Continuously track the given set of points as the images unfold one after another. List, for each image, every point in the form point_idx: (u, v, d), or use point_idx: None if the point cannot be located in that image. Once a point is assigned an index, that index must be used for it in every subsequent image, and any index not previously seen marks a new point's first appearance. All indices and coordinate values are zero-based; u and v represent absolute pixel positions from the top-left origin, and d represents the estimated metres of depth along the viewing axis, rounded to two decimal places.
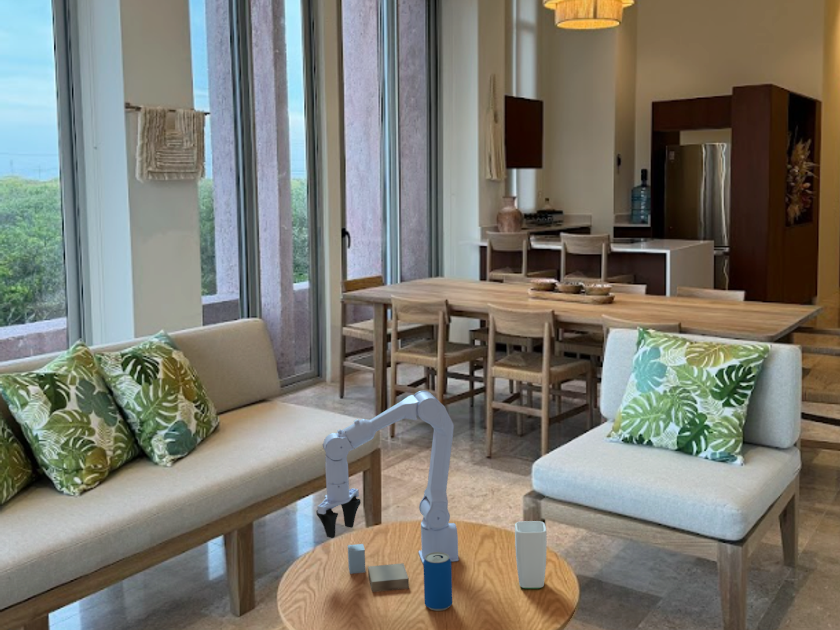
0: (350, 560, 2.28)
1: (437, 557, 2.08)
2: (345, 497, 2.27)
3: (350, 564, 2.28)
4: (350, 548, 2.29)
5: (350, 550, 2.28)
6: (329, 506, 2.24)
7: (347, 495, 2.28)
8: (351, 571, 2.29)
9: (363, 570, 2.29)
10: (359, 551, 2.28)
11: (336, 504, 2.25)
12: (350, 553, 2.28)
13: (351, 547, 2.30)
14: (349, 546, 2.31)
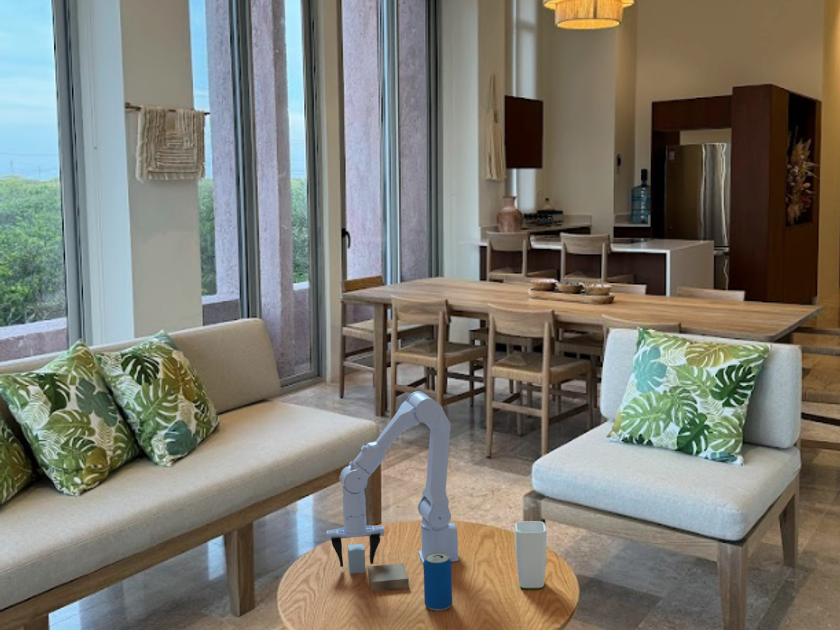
0: (350, 560, 2.28)
1: (437, 557, 2.08)
2: (353, 531, 2.26)
3: (350, 564, 2.28)
4: (350, 548, 2.29)
5: (350, 550, 2.28)
6: (334, 535, 2.27)
7: (357, 530, 2.26)
8: (351, 571, 2.29)
9: (363, 570, 2.29)
10: (359, 551, 2.28)
11: (342, 535, 2.27)
12: (350, 553, 2.28)
13: (351, 547, 2.30)
14: (349, 546, 2.31)
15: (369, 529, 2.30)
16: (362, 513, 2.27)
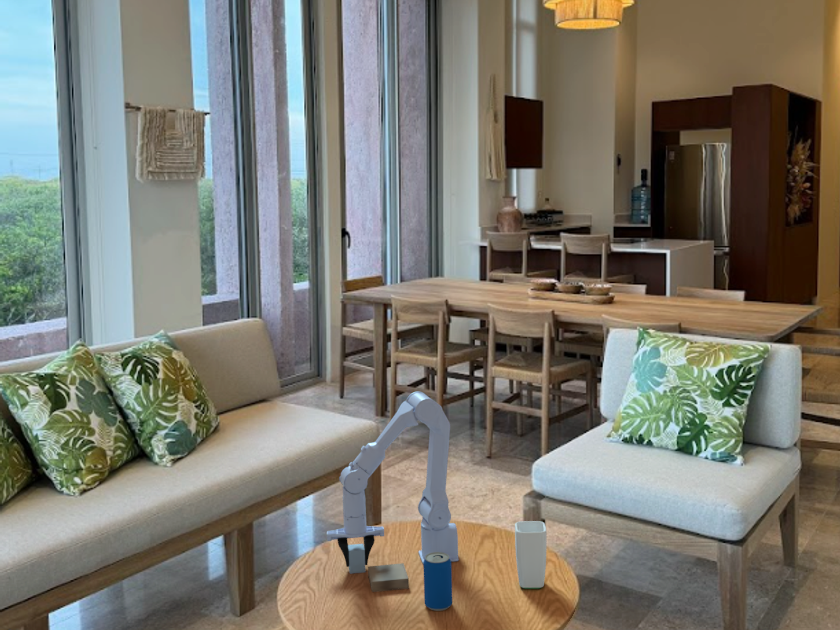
0: (350, 560, 2.28)
1: (437, 557, 2.08)
2: (353, 532, 2.26)
3: (350, 564, 2.28)
4: (350, 548, 2.29)
5: (350, 550, 2.28)
6: (335, 535, 2.27)
7: (357, 530, 2.26)
8: (351, 571, 2.29)
9: (363, 570, 2.29)
10: (359, 551, 2.28)
11: (342, 535, 2.27)
12: (350, 553, 2.28)
13: (351, 547, 2.30)
14: (349, 546, 2.31)
15: (369, 529, 2.30)
16: (362, 514, 2.27)
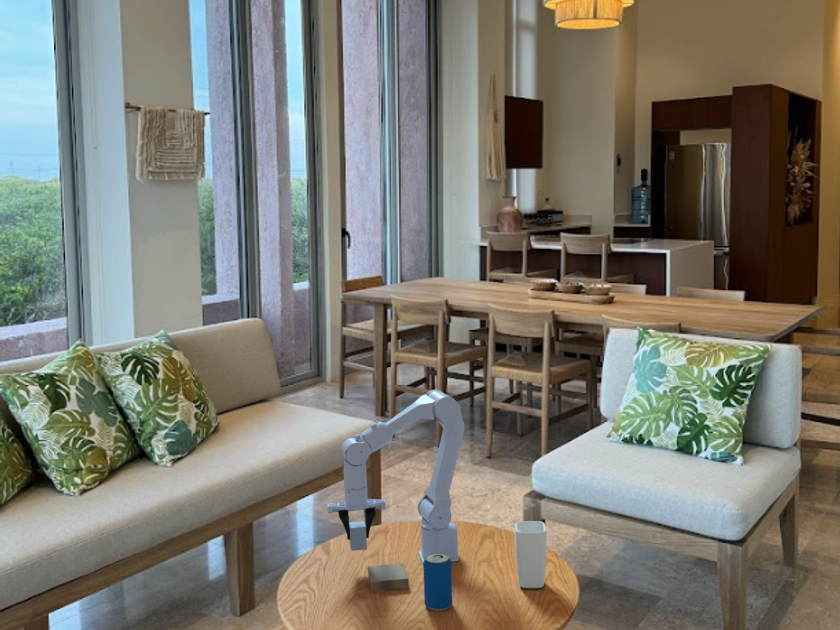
0: (351, 537, 2.27)
1: (437, 557, 2.08)
2: (354, 504, 2.25)
3: (351, 541, 2.27)
4: (351, 525, 2.28)
5: (351, 527, 2.27)
6: (335, 508, 2.26)
7: (358, 503, 2.25)
8: (352, 548, 2.27)
9: (364, 547, 2.28)
10: (360, 528, 2.27)
11: (343, 508, 2.25)
12: (351, 530, 2.26)
13: (352, 524, 2.29)
14: (350, 523, 2.29)
15: (370, 502, 2.28)
16: (363, 486, 2.25)
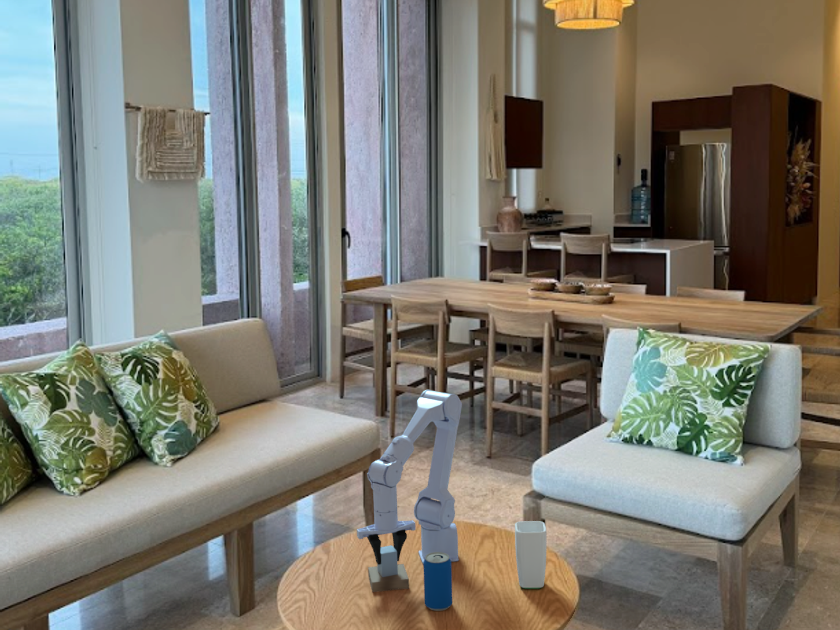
0: (383, 563, 2.20)
1: (437, 557, 2.08)
2: (387, 527, 2.18)
3: (383, 567, 2.20)
4: (381, 550, 2.21)
5: (382, 552, 2.20)
6: (367, 533, 2.18)
7: (390, 526, 2.18)
8: (384, 574, 2.20)
9: (395, 572, 2.21)
10: (391, 553, 2.20)
11: (375, 532, 2.18)
12: (383, 555, 2.20)
13: (381, 549, 2.22)
14: None
15: (400, 524, 2.22)
16: (396, 506, 2.20)
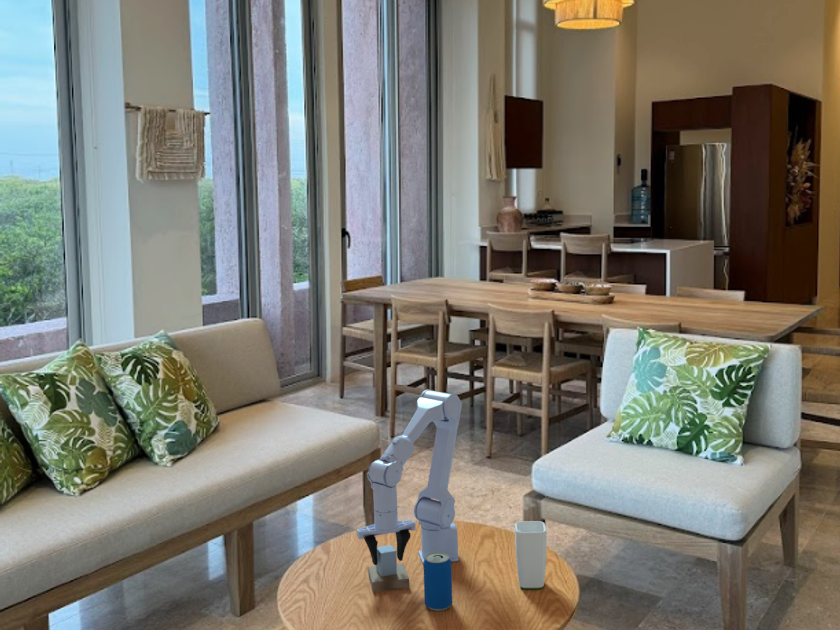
0: (382, 562, 2.20)
1: (437, 557, 2.08)
2: (387, 527, 2.18)
3: (382, 566, 2.20)
4: (381, 550, 2.21)
5: (382, 552, 2.20)
6: (367, 533, 2.18)
7: (390, 526, 2.18)
8: (383, 574, 2.20)
9: (394, 572, 2.21)
10: (391, 552, 2.20)
11: (375, 532, 2.18)
12: (382, 555, 2.20)
13: (381, 549, 2.22)
14: (378, 548, 2.22)
15: (400, 524, 2.22)
16: (396, 506, 2.20)
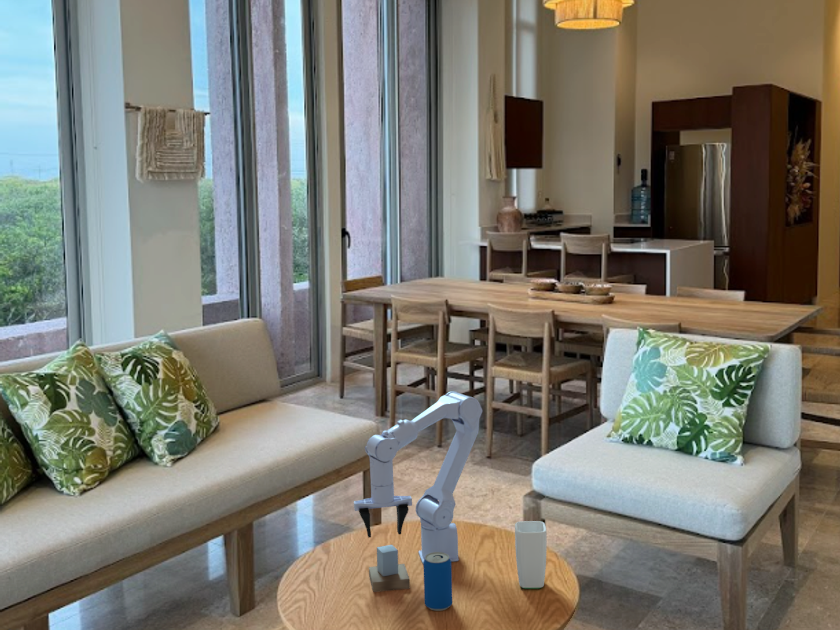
0: (384, 562, 2.20)
1: (437, 557, 2.08)
2: (382, 501, 2.24)
3: (383, 566, 2.20)
4: (382, 549, 2.21)
5: (383, 551, 2.20)
6: (362, 505, 2.24)
7: (385, 499, 2.24)
8: (384, 573, 2.20)
9: (396, 571, 2.22)
10: (392, 552, 2.21)
11: (370, 505, 2.24)
12: (384, 555, 2.20)
13: (382, 549, 2.22)
14: (379, 548, 2.23)
15: (397, 499, 2.27)
16: (391, 482, 2.24)
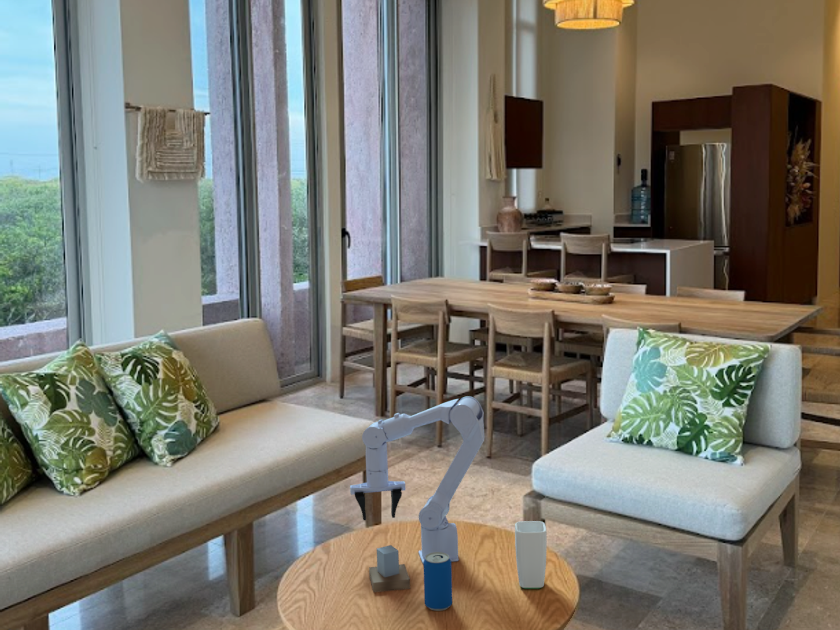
0: (385, 563, 2.20)
1: (437, 557, 2.08)
2: (376, 485, 2.35)
3: (385, 567, 2.20)
4: (382, 551, 2.21)
5: (384, 553, 2.20)
6: (358, 489, 2.36)
7: (379, 484, 2.35)
8: (386, 574, 2.20)
9: (397, 571, 2.22)
10: (393, 552, 2.21)
11: (365, 489, 2.35)
12: (385, 556, 2.20)
13: (382, 550, 2.22)
14: (379, 549, 2.22)
15: (391, 484, 2.38)
16: (379, 469, 2.34)
